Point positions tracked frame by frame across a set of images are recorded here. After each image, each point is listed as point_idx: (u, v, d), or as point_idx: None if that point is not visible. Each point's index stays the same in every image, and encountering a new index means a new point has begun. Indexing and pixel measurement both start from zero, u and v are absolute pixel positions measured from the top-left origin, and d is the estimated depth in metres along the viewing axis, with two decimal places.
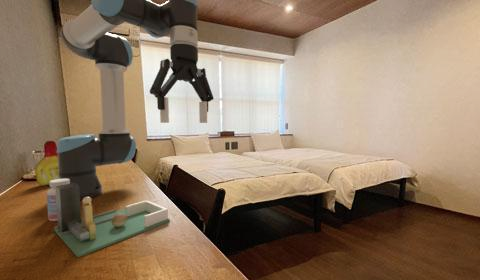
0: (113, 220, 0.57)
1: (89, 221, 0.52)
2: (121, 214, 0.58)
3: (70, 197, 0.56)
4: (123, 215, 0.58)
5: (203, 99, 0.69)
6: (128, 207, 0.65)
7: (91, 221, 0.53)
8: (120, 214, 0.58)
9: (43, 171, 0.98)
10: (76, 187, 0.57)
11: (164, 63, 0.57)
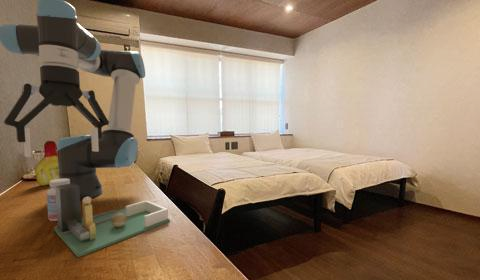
0: (113, 220, 0.57)
1: (89, 221, 0.52)
2: (121, 214, 0.58)
3: (70, 197, 0.56)
4: (123, 215, 0.58)
5: (95, 124, 0.61)
6: (128, 207, 0.65)
7: (91, 221, 0.53)
8: (120, 214, 0.58)
9: (43, 171, 0.98)
10: (76, 187, 0.57)
11: (23, 89, 0.49)
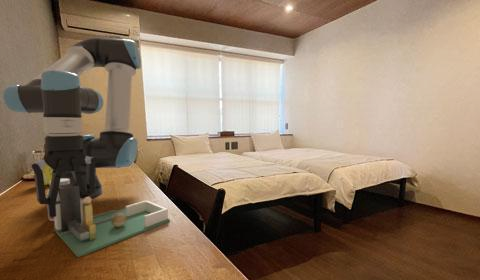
0: (113, 220, 0.57)
1: (89, 221, 0.52)
2: (121, 214, 0.58)
3: (70, 197, 0.56)
4: (123, 215, 0.58)
5: (80, 193, 0.59)
6: (128, 207, 0.65)
7: (91, 221, 0.53)
8: (120, 214, 0.58)
9: (43, 171, 0.98)
10: (76, 187, 0.57)
11: (33, 170, 0.51)
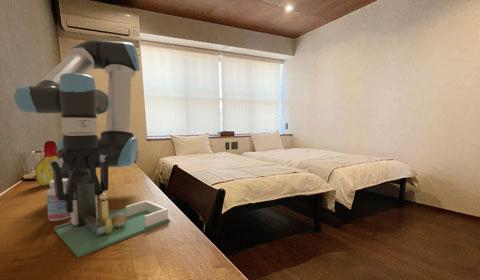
0: (113, 220, 0.57)
1: (105, 216, 0.55)
2: (121, 214, 0.58)
3: (86, 194, 0.58)
4: (123, 215, 0.58)
5: (95, 190, 0.62)
6: (128, 207, 0.65)
7: (107, 216, 0.55)
8: (120, 214, 0.58)
9: (43, 171, 0.98)
10: (91, 184, 0.59)
11: (52, 167, 0.54)
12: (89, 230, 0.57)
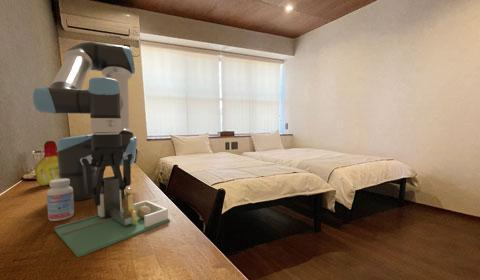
0: None
1: (131, 209, 0.60)
2: (142, 218, 0.63)
3: (111, 188, 0.63)
4: (142, 217, 0.63)
5: (119, 185, 0.67)
6: None
7: (132, 209, 0.60)
8: (143, 218, 0.63)
9: (43, 171, 0.98)
10: (116, 179, 0.64)
11: (83, 164, 0.59)
12: (89, 230, 0.57)
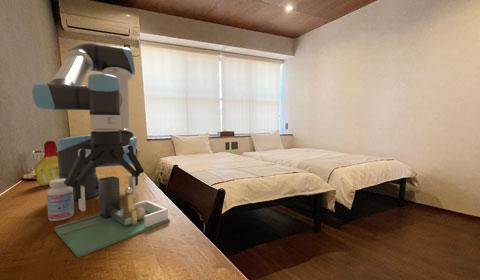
0: (145, 211, 0.64)
1: (131, 209, 0.60)
2: (141, 219, 0.63)
3: (111, 188, 0.63)
4: (140, 219, 0.62)
5: None
6: None
7: (132, 209, 0.60)
8: (142, 218, 0.63)
9: (43, 171, 0.98)
10: (116, 179, 0.64)
11: (79, 154, 0.58)
12: (89, 230, 0.57)
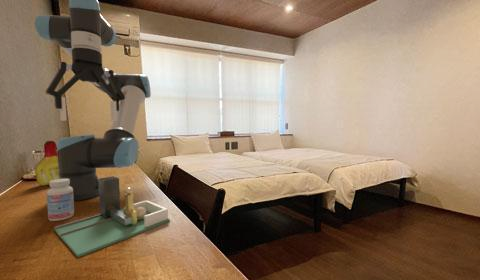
0: None
1: (131, 209, 0.60)
2: (141, 219, 0.63)
3: (111, 188, 0.63)
4: (140, 219, 0.62)
5: (113, 99, 0.74)
6: None
7: (132, 209, 0.60)
8: (142, 218, 0.63)
9: (43, 171, 0.98)
10: (116, 179, 0.64)
11: (60, 66, 0.62)
12: (89, 230, 0.57)
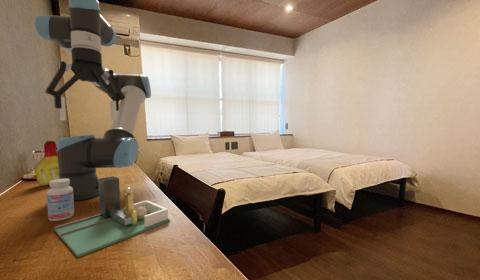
0: None
1: (131, 209, 0.60)
2: None
3: (111, 188, 0.63)
4: (141, 219, 0.62)
5: (113, 98, 0.74)
6: None
7: (132, 209, 0.60)
8: (142, 218, 0.63)
9: (43, 171, 0.98)
10: (116, 179, 0.64)
11: (60, 65, 0.62)
12: (89, 230, 0.57)
